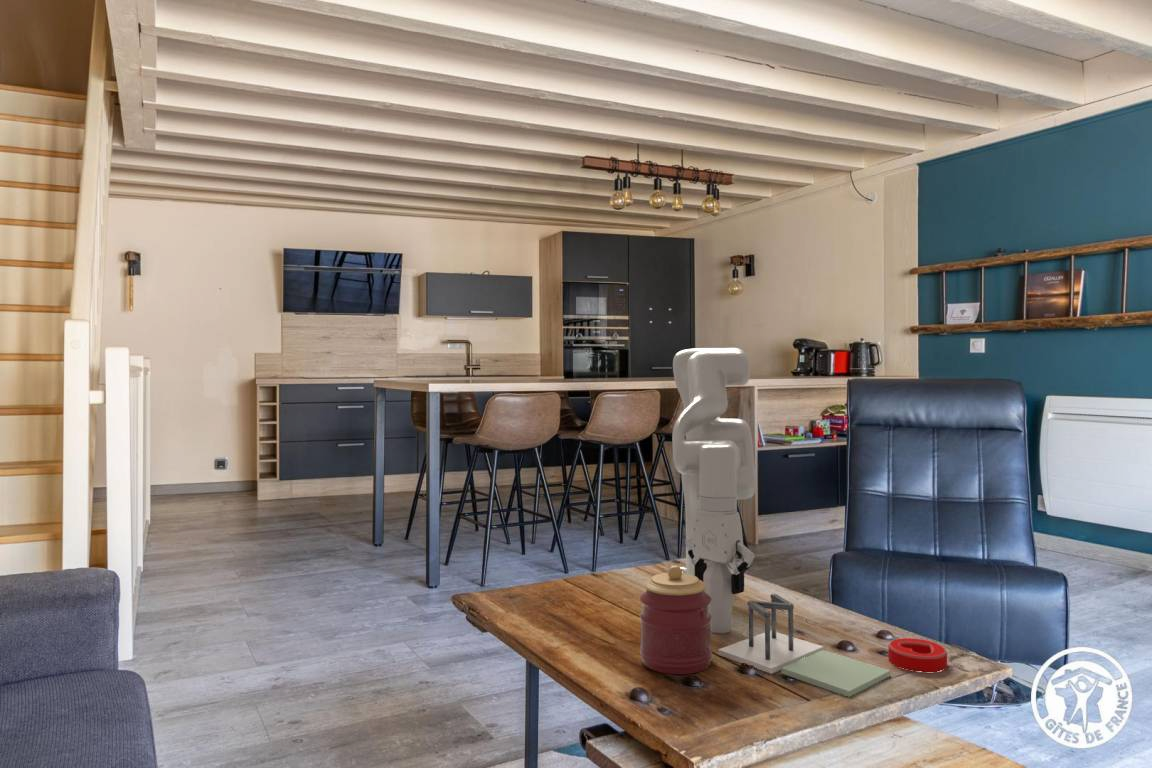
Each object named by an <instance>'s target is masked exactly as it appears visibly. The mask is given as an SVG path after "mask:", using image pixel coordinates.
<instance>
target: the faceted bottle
mask: <svg viewBox="0 0 1152 768" xmlns="http://www.w3.org/2000/svg"><path fill="white" fill-rule="evenodd" d="M732 574H734V572H733V570H732V569H731V567H730V565H729V564H722V563H717V562H711V564H710V565H709V566H708V568H707V569H706V571H705V572H704V575H703V581H704V583H705V584H706V589H705V590H704V591H705V593H707V594H708V595H709V596H710V597H711V602H710V604H709V605H708V610H709V613H710V615H711V622H710V623H711V633H713V634H725V633H726V634H727V633H730V632H731V625H732V619H733V608H734V600H735V599H734V598H735V594H732V592H731V575H732Z"/></svg>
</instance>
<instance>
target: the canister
mask: <svg viewBox="0 0 1152 768" xmlns="http://www.w3.org/2000/svg"><path fill="white" fill-rule="evenodd" d="M680 567H681V566H679V565H671V566H669V568H668V569H667V572H661V573H657V574H655V575H653V576H652V577H651V578H649V579H647V580H646V581H645V582H644V583H643V586H644V589H645V591H642V593H641V594H640V595H639V601H640V602H641V604H642V610H641V612H640V613H639V618H640V646H639V649H640V652H639V654H640V657H641V663H642V664H643V665H644V666H645V667H646V668H648V669H650V670H652V671H655V672H659V673H663V674H671V675H688V674H689V675H690V674H695V673H699V672H701V671H704V670H706V669H707V668H709V666H710V665H711V659H712V658H713V655H712V647H711V646H712V645H711V643H712V641H711V637H712V636H711V634H712V632H711V623H710V622H711V615H710V613H709V610H708V605H709V604H710V602H711V597H710V596H709V595H708V594H707V593H705V591H704V590H705V589H706V584H705V583H704V582H703V581H701V580H699V579H698V578H697V577H696V576H694V575H691V574H686V573H682V570H681V568H680Z"/></svg>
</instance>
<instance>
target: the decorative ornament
mask: <svg viewBox="0 0 1152 768" xmlns="http://www.w3.org/2000/svg"><path fill="white" fill-rule="evenodd" d="M887 647H888V648H887V649H888V653H887V654H888V659H889V660H888V661H890V662H891V663H892V664H894V665H896V666H898V667H901V668H904V669H908V670H913V671H922V672H937V671H940V670H943V669H945V668H946V667H947V668H948V651H947V650H946V649H945V647H944V646H942V645H940V644H938V643H936V642H934V641H933V642H932V641H930V640H925V639H922V638H921V639H920V638H912V637H911V638H908V637H907V638H902V637H901V638H897V639H893V640H891V641H890V642H889V643H888V646H887ZM890 662H889V663H890ZM891 663H890V664H891ZM892 664H891V665H892ZM894 665H893V666H894ZM896 666H895V667H896ZM898 667H897V668H898ZM901 668H900V669H901ZM904 669H903V670H904Z"/></svg>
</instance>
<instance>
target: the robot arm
mask: <svg viewBox="0 0 1152 768" xmlns="http://www.w3.org/2000/svg"><path fill="white" fill-rule="evenodd" d="M672 373H673V378H674V382H675V386H676V388H677V391H678V393H679V396H680V397H681V401H682V403H683V411H682V412H681V413H680V414H679V415H678V418H676V421H675V423H674V425H673V428H672V435H671V437H672V438H671V439H672V444H671V445H672V460H673V465H674V468H675V470H676V471H677V473H680V474H681V483H682V491H683V497H684V498H683V499H684V506H685V507H684V509H685V511H684V512H685V541H684V544H685V567H684V566H679V567H680V568H681V570H682V573H686V574H691V575H694V576H696V577H697V578H698V579H699V580H701V581H703V575H704V572H705V571H706V569H707V568H708V566H709V565H710V564H711V562H717V563H722V564H727V565H728V566H729V568H730V569H731V571H732V572H733V574H732V575H731V592H732V594H734V595H737V594H741V593H744V591H745V574H746V573H747V572H748V570H749V569H750V568H751V566H752V564H753V562H754V559H755V556H756V555H755V553H754V552H753V551H752V550H750V549H749V548H748V547H747V546H746V545H745V544H744V537H743V530H742V529H743V528H742V522H741V517H740V512H738V502H737V500H748V499H751V498H752V497H753V496H754V495H755V493H756V489H757V477H756V465H755V456H754V444H753V437H752V431H751V427H750V425H749V423H748V422H747V421H745V420H744V419H742V418H732V417H731V418H730V417H729V418H722V417H721V416H722V415H723V414H724V413H726V411H727V409H728V404H729V402H728V394H727V387H729V386H730V387H731V386H734V387H735V386H738V387H739V386H745V385H746V384H748V383H749V381H750V376H751V364H750V360H749V357H748V356H747V353H746V352H745V351H744V350H742V349H740V348H738V347H696V348H695V347H694V348H687V349H681V350H680V351H678V352H676V354H675V355H674V356H673V360H672ZM703 582H704V581H703Z"/></svg>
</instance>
